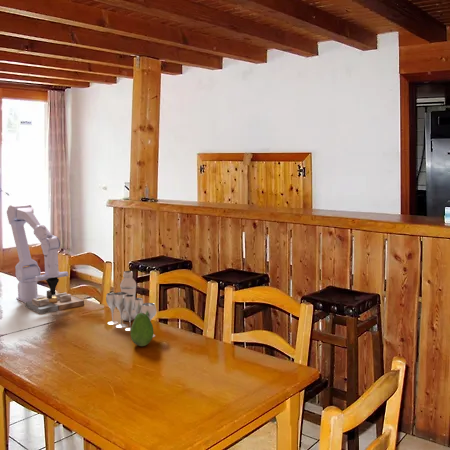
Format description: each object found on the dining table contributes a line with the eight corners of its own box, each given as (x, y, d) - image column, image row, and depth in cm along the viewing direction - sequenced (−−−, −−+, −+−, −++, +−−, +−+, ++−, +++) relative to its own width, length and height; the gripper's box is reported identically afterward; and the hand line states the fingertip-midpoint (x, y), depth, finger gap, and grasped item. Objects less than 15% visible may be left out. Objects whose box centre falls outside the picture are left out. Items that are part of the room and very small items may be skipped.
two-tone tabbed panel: (67, 298, 256) (67, 289, 255) (84, 304, 245) (83, 295, 244) (25, 306, 242) (24, 297, 241) (40, 314, 231) (39, 303, 230)
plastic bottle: (139, 317, 225) (138, 270, 223) (134, 323, 219) (133, 273, 216) (123, 317, 226) (122, 269, 223) (119, 322, 219) (117, 273, 217)
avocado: (143, 351, 188) (142, 317, 186) (126, 346, 192) (125, 313, 191) (158, 344, 195) (157, 311, 193) (141, 340, 199) (140, 308, 197)
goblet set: (103, 323, 219) (102, 290, 217) (115, 320, 223) (114, 288, 221) (147, 339, 200) (147, 304, 198) (159, 335, 204) (159, 301, 202)
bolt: (54, 300, 244) (54, 289, 244) (57, 301, 243) (56, 290, 242) (37, 303, 239) (37, 292, 238) (40, 304, 237) (39, 293, 237)
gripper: (39, 268, 233) (41, 299, 234) (71, 263, 242) (72, 293, 244) (32, 265, 238) (34, 296, 239) (63, 261, 247) (64, 290, 249)
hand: (52, 294), depth 242 cm, fingers closed, pressing on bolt
